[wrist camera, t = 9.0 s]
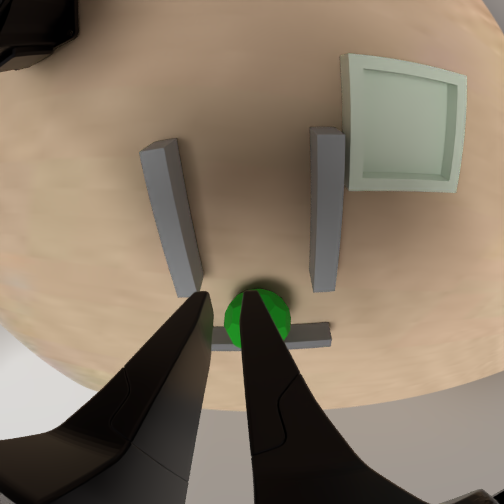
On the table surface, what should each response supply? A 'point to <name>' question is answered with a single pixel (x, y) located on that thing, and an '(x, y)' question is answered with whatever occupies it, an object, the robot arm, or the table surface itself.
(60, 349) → the table surface
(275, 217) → the table surface
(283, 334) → the polyhedron
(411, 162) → the dish
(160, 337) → the robot arm
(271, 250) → the table surface
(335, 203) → the channel
